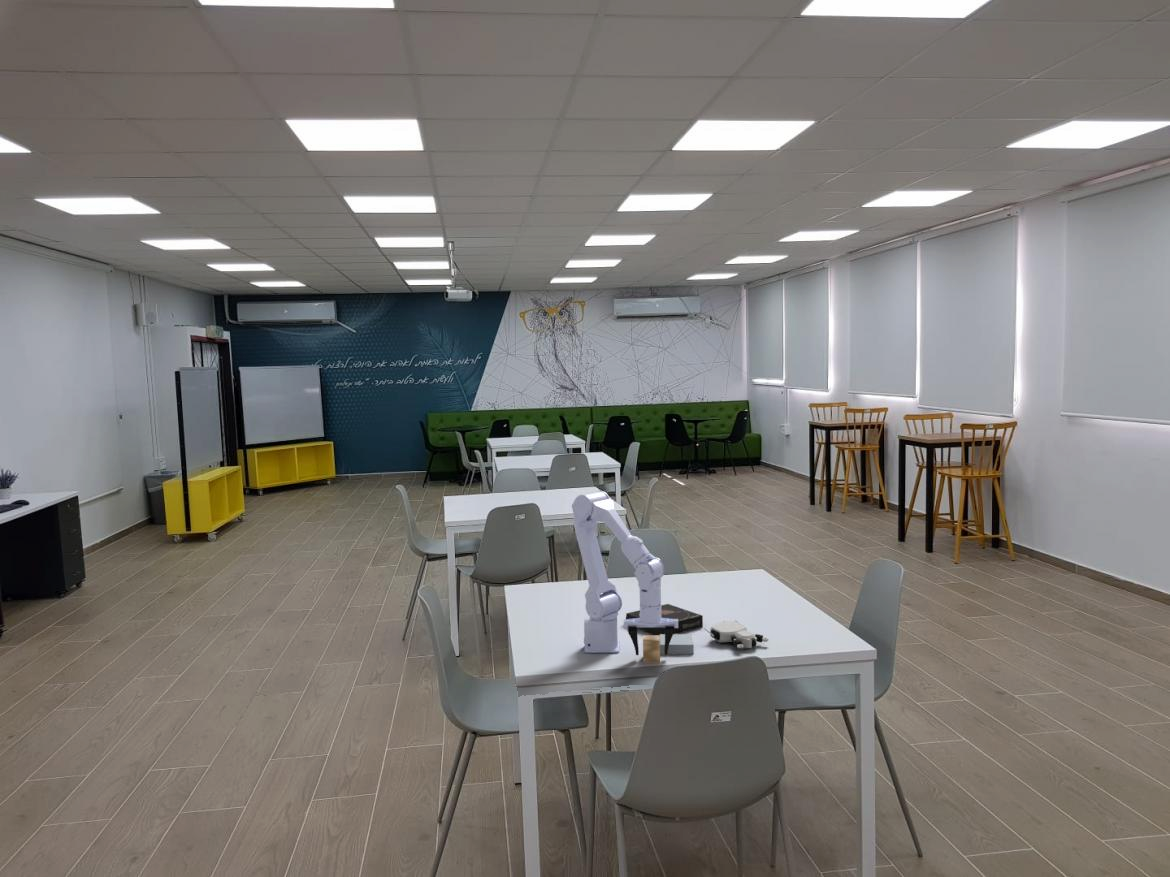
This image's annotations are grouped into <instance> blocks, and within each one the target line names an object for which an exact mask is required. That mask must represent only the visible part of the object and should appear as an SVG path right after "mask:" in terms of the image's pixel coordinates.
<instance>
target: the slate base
mask: <svg viewBox="0 0 1170 877" xmlns="http://www.w3.org/2000/svg"><path fill="white" fill-rule="evenodd" d="M664 647H665V634H660V655H665V651H664ZM694 648H695V647H694V641H693V635H692V634H690V633H689V634H687V633H686V634H685V633H684V634H683V633H678V634H673V636H672V638H671V641H670V643H669V647H668V652H667V655H679V654H680V655H692V654H693V655H694V652H695V651H694Z"/></svg>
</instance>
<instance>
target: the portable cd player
mask: <svg viewBox="0 0 1170 877" xmlns="http://www.w3.org/2000/svg"><path fill="white" fill-rule="evenodd" d="M625 614H626V615H625V619H635V618H640V609H638V610H635V611H631V612H626V613H625ZM703 616H704V615H702V614H699V613H696V612H693V611H690V610H687V609H685V608H681V607H678V606H675V605H673V604H670V603H666V604H661V618H668V619H678V628H674V634H683V633H685V632H690V631H692V630H696V629H701V628H703V627H704V623H703V622H704V621H703V620H704V619H703V618H704V617H703ZM637 630H640V631H642V632H643V633H647V634H648V635H660V634H665V627H646V628H637Z"/></svg>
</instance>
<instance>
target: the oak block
mask: <svg viewBox="0 0 1170 877" xmlns="http://www.w3.org/2000/svg"><path fill="white" fill-rule="evenodd" d="M642 654H643V655H642V661H643V663H645V664H647V663H648V664H650V663H652V664H653V663H655V664H656V663H657V664H658V663H661V652H660V635H652V634H648V635H646V634H645V635H642Z"/></svg>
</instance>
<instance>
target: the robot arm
mask: <svg viewBox="0 0 1170 877" xmlns="http://www.w3.org/2000/svg"><path fill="white" fill-rule="evenodd" d="M571 508H572V513H573V527H574V528H573V529H574V532H575V536H576V539H577V544H578V547H579V550H580V551H579V552H580V556H581V559H582V562H583V566H584V571H585V574H586V578H587V581H588V582H587V583H588V585H589V586H588V588H587V590H586V592H585V594H584V597H585V611H586V613H587V615H588V617H584V622H583V625H584V626H583V631H584V634H583V635H584V637H583V644H584V653H589V654H591V653H592V654H593V653H596V654H597V653H600V654H601V653H604V654H605V653H611V654H612V653H617V654H618V653H619V652H620V645H621V644H620V641H619V640H618V637H619V636H618V616H619V611H621V609H622V607H623V599H622V597H621V595H620V594H619V592H618V591H617V588H616V585H614V584H613V582H611V581H609V579H608V575H607V571H606V567H605V564H604V560H603V556H602V553H601V548H600V544H599V541H598V536H597V533H596V530H595V526H596V525H597V522H598V521H599V522H603V523H604V525H606V526H607V528H608V529H609V531H611V532H612V534H613V535H614V536H615V537H616V538H617V539H618V541H619V542H620V543H621V547H620V550H621V551H622V553H623V554H624V555H625V557H626V558H627V560H628V561H629V562H630V564H631V565H632V567H633V568H634V569H635V570H634V576H635V579H636V580H637V582H638V584H637V585H638V588H639V610H640V618H635V619H626V618H625V619H623V629H627V633H628V635H629V637H630V639H631V641H632V643H633V647H634V651H635V655H636V656H639V653H640V652H639V641H638V639H639V638H638V629H637V628H646V627H665V647H664V651H665V654H664V656H667V655H668V654H667V652H668V647H669V643H670V641H671V638H672V636H673V634H674V628H678V619H668V618H661V605H662V582H661V580H662V578H663V576H664V575H665V568H666V567H665V565H664V563H663V561H662V560H661V559H660V558H659V557H656V556H654V555H653V554H652V553H650V550H649V549H648V548H647V547H646V546H645V545H644V541H643V540H642V539H641V538H640V537H638V536H635V535H632V534H631V533H630V531H629V529H628V527H627V526H626V525H625V523H624V521H623V520H622V518H621V517H620V516H619V514H618V512H617V511H616V509H615V503H614V501H613V500H612V499H611V498H610V496H609V494H608V493H607V492H605V491H603V490H599V491H596V492H592V493H587V494H580V495H578V496H576V497H575V499H574V501H573V503H572V504H571Z"/></svg>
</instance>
